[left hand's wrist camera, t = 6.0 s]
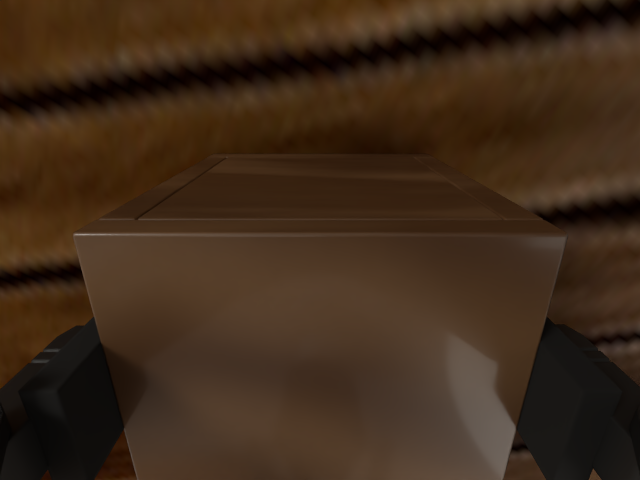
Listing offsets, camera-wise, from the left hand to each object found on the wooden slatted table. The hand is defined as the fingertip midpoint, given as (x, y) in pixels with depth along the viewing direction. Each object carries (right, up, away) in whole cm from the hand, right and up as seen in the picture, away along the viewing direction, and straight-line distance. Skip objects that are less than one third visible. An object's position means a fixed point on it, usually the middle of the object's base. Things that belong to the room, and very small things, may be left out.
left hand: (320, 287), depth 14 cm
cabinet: (0, -3, +7) cm, 8 cm away
